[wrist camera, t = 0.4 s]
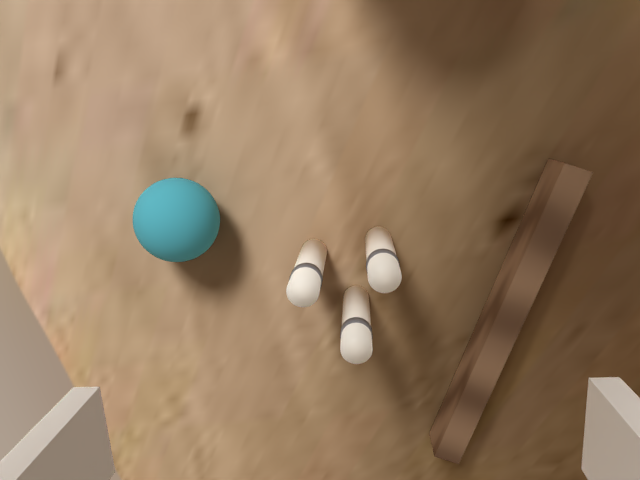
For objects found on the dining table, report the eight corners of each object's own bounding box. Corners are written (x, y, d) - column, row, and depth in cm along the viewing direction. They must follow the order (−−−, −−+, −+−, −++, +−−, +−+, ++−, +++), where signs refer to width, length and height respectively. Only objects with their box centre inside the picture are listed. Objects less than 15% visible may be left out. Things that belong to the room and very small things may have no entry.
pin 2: (363, 227, 39) (365, 262, 31) (390, 224, 39) (400, 258, 30) (366, 253, 40) (368, 295, 31) (393, 250, 40) (404, 292, 31)
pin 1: (341, 286, 41) (337, 335, 32) (368, 283, 40) (371, 332, 32) (344, 311, 41) (341, 366, 33) (370, 308, 41) (375, 363, 32)
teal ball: (144, 177, 40) (108, 190, 34) (221, 168, 39) (197, 179, 33) (160, 253, 41) (128, 277, 35) (234, 244, 40) (214, 268, 35)
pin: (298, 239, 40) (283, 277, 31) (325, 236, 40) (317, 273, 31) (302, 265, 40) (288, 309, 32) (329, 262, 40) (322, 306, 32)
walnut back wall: (451, 440, 43) (458, 464, 41) (429, 432, 43) (434, 456, 41) (574, 167, 37) (593, 172, 34) (548, 158, 37) (564, 163, 34)
